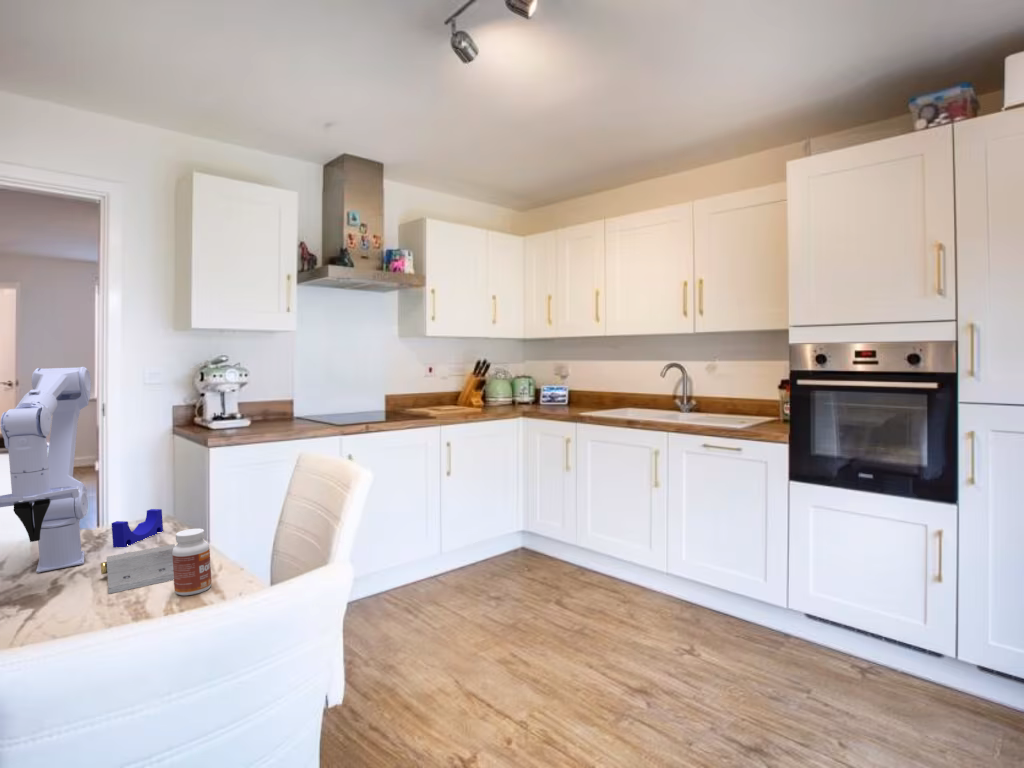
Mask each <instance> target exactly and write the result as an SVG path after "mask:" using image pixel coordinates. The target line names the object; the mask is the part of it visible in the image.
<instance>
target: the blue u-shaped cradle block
mask: <svg viewBox="0 0 1024 768" xmlns="http://www.w3.org/2000/svg"><path fill="white" fill-rule="evenodd" d="M163 524H164V522H163V510H162V509H161V508H158V509H157V508H151V509H148V510H146V517H145V520H144V521H143V522H139V523H138V524H137V525H136V527H135V528H134V529H132V530H131V529H130V528H131V527H130V526H129V521H126V520H125V521H124V520H122V521H119V520H116V521H113V522H111V535H112V536H111V537H112V548H116V547H125V548H127V547H128V546H127V544H128V545H130V546H132V545H134V544H133V543H135V542H137V541H140V540H142V541H144V540H143V539H145V538H147V537H149V536H152V535H154V536H156V535H155V534H157V532H162V531H163V532H164V525H163ZM163 532H162V533H163ZM157 535H158V534H157ZM152 537H153V536H152ZM149 538H150V537H149ZM147 539H148V538H147ZM145 540H146V539H145ZM140 542H141V541H140ZM137 543H138V542H137ZM131 544H132V545H131ZM135 544H136V543H135ZM126 546H127V547H126Z"/></svg>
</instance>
